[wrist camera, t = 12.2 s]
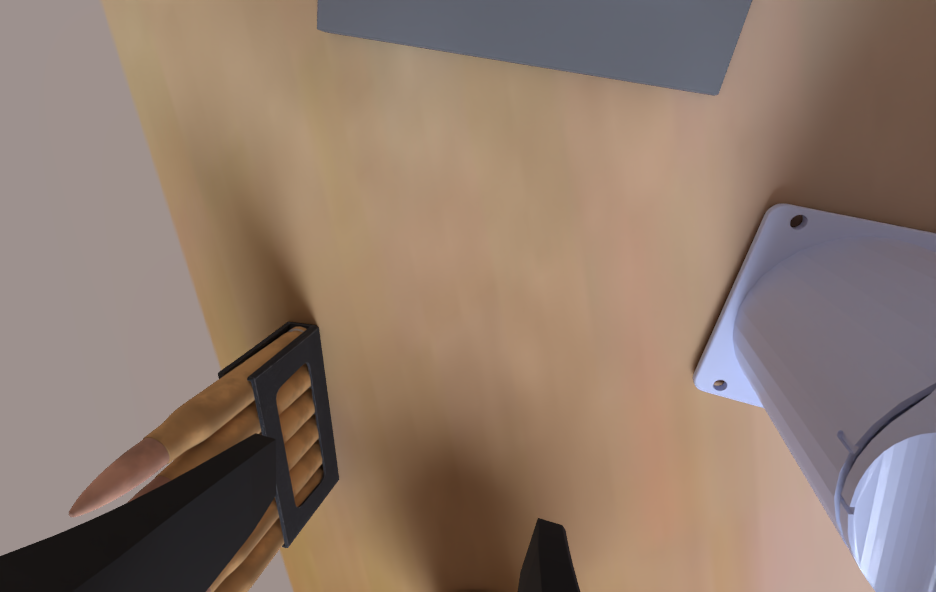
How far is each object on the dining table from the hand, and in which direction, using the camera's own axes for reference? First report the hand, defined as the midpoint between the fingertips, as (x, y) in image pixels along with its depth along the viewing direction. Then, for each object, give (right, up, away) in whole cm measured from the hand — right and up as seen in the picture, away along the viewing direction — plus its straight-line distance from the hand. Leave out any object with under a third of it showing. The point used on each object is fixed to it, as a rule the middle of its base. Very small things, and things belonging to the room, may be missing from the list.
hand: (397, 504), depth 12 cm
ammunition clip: (-7, -1, +14) cm, 16 cm away
